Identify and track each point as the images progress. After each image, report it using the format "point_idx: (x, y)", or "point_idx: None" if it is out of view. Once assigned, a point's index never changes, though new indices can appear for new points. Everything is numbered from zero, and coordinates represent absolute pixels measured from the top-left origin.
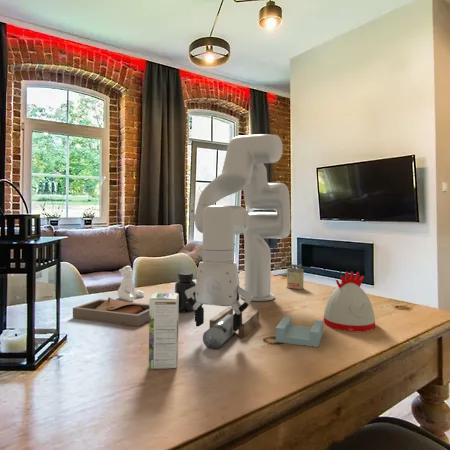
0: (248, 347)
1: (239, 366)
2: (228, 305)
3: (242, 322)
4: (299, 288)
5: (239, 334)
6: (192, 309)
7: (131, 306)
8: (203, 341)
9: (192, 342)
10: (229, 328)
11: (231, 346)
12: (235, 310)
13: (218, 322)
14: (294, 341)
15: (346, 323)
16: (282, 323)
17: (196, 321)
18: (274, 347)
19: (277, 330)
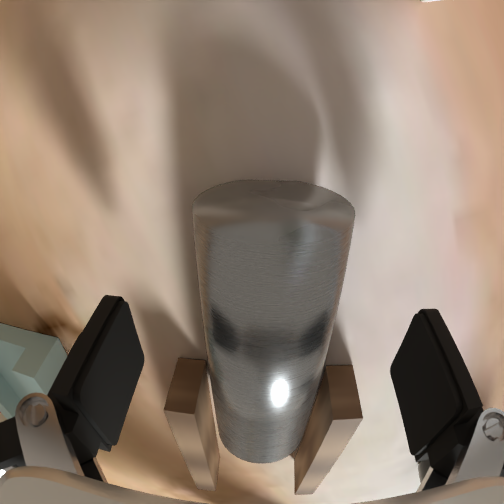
0: (102, 263)
1: (49, 29)
2: (46, 474)
3: (183, 423)
4: None
5: (197, 369)
6: (428, 461)
7: None
8: (342, 198)
9: (415, 243)
10: (208, 360)
11: (181, 251)
12: (49, 428)
13: (286, 389)
14: (7, 332)
15: (2, 416)
16: None
17: (445, 331)
18: (31, 289)
19: (33, 368)
